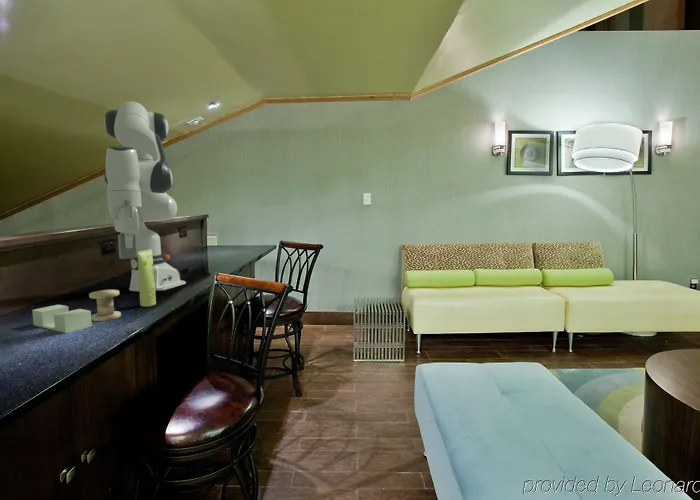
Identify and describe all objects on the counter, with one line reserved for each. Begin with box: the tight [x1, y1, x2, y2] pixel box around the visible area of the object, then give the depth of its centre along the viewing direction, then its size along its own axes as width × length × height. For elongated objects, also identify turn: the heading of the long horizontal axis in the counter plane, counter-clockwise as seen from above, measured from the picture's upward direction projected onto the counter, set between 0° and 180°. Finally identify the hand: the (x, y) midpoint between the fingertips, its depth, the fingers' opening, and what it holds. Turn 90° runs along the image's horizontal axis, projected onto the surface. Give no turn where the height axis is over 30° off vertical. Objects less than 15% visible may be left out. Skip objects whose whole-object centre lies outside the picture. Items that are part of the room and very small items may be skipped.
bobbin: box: [88, 289, 122, 322], centre depth 125 cm, size 8×8×8 cm
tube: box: [138, 249, 157, 308], centre depth 139 cm, size 6×5×20 cm
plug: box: [117, 233, 136, 260], centre depth 120 cm, size 4×4×8 cm
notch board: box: [32, 304, 93, 334], centre depth 117 cm, size 7×16×5 cm, turn 63°
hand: (127, 247), depth 120 cm, fingers closed on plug, 4 cm apart
